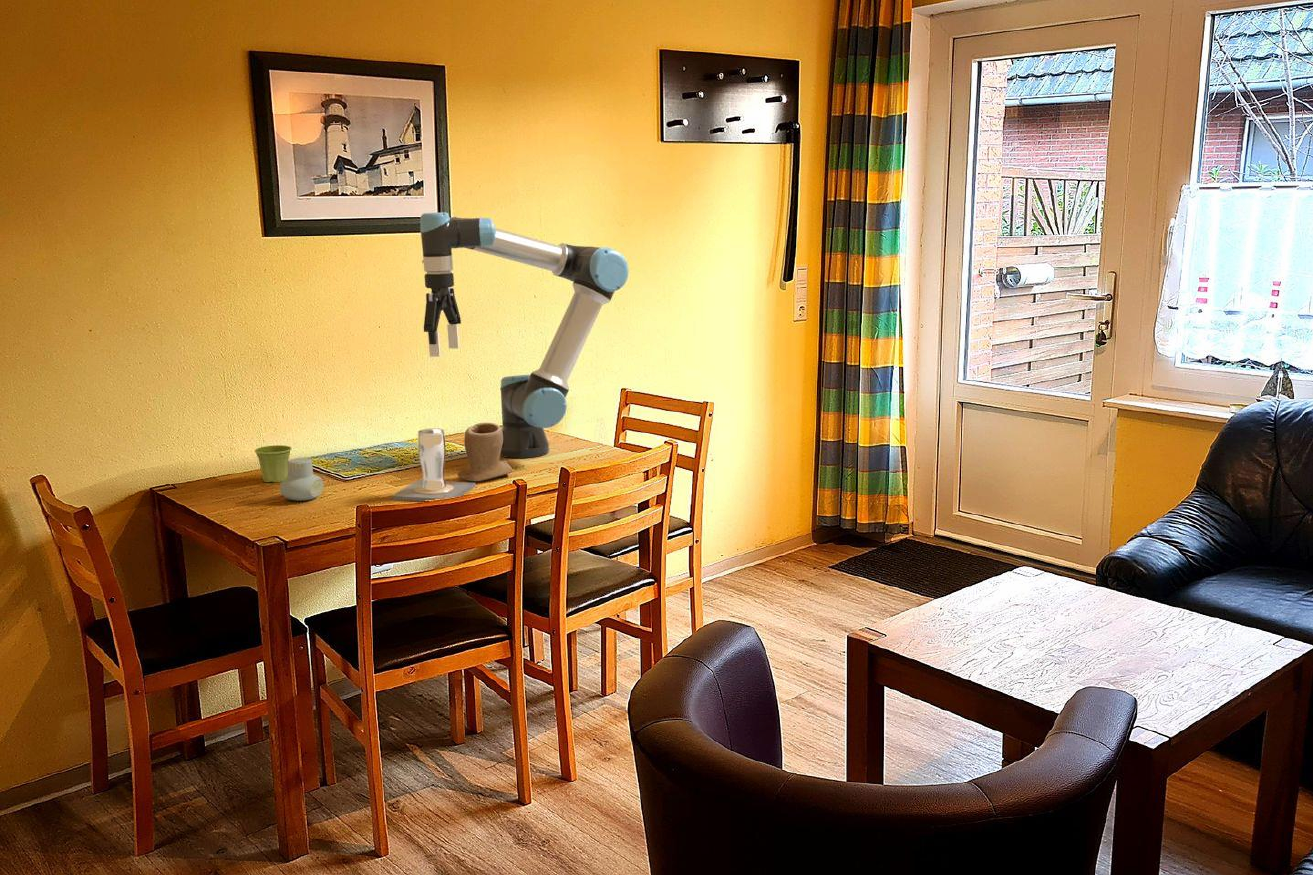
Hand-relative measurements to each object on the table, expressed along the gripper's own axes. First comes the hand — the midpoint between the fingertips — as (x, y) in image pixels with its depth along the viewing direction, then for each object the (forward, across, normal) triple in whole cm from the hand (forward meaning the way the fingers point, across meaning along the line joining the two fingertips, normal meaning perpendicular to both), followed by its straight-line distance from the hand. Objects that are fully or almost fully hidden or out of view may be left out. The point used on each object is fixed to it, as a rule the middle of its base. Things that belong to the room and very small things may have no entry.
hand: (444, 352), depth 301 cm
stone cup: (+34, +4, +11) cm, 36 cm away
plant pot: (+33, +14, -45) cm, 58 cm away
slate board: (+33, +20, +2) cm, 39 cm away
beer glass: (+32, +20, +2) cm, 38 cm away
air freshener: (+33, +30, -29) cm, 53 cm away
